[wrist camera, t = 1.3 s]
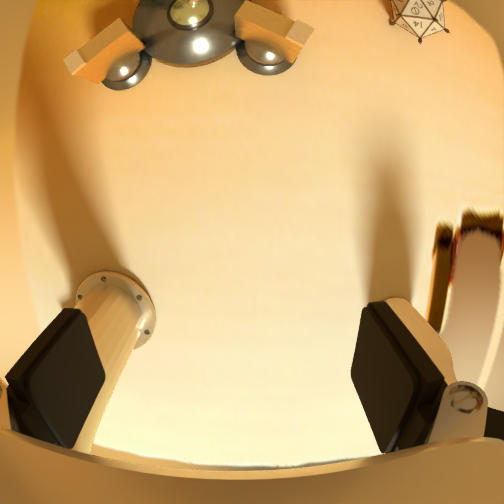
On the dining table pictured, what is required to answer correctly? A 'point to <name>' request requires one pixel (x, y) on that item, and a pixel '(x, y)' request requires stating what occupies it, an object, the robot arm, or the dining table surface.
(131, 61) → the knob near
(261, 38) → the knob
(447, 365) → the milk bottle
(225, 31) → the plate
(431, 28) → the game die
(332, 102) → the dining table surface
